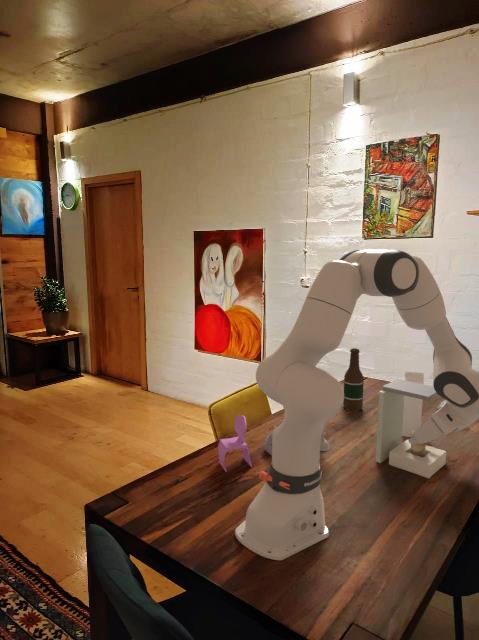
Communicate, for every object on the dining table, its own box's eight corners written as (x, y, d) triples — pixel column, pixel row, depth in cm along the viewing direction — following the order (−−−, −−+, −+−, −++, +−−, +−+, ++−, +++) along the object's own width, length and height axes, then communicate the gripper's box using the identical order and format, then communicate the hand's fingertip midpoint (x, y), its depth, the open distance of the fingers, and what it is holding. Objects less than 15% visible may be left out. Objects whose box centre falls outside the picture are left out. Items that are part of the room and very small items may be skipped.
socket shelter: (427, 479, 130) (432, 400, 126) (375, 461, 141) (379, 387, 137) (446, 462, 140) (452, 388, 136) (396, 446, 151) (400, 377, 147)
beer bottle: (339, 405, 189) (341, 347, 185) (356, 403, 191) (358, 346, 187) (349, 411, 182) (351, 352, 178) (366, 409, 184) (369, 350, 180)
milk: (420, 438, 157) (424, 375, 153) (401, 436, 159) (404, 374, 155) (419, 431, 163) (424, 370, 159) (401, 429, 165) (405, 369, 161)
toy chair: (216, 461, 141) (215, 414, 139) (243, 456, 145) (243, 410, 142) (225, 474, 134) (224, 424, 131) (253, 468, 137) (253, 420, 134)
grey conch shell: (284, 470, 141) (277, 441, 138) (260, 456, 151) (252, 428, 147) (311, 449, 148) (305, 421, 144) (286, 437, 157) (280, 410, 153)
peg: (420, 468, 136) (422, 436, 135) (407, 464, 139) (409, 432, 137) (426, 464, 139) (428, 432, 137) (413, 459, 142) (415, 428, 140)
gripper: (460, 395, 138) (425, 418, 147) (432, 414, 124) (395, 438, 132) (474, 413, 136) (438, 435, 144) (448, 434, 121) (409, 457, 130)
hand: (417, 437), depth 138 cm, fingers open, 8 cm apart
